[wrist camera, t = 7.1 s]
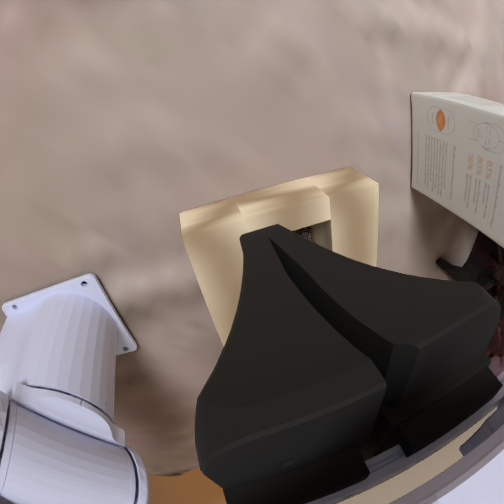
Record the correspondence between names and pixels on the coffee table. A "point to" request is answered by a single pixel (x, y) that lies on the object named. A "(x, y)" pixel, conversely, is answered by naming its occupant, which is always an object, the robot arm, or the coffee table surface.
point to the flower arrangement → (485, 287)
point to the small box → (461, 157)
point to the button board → (287, 215)
